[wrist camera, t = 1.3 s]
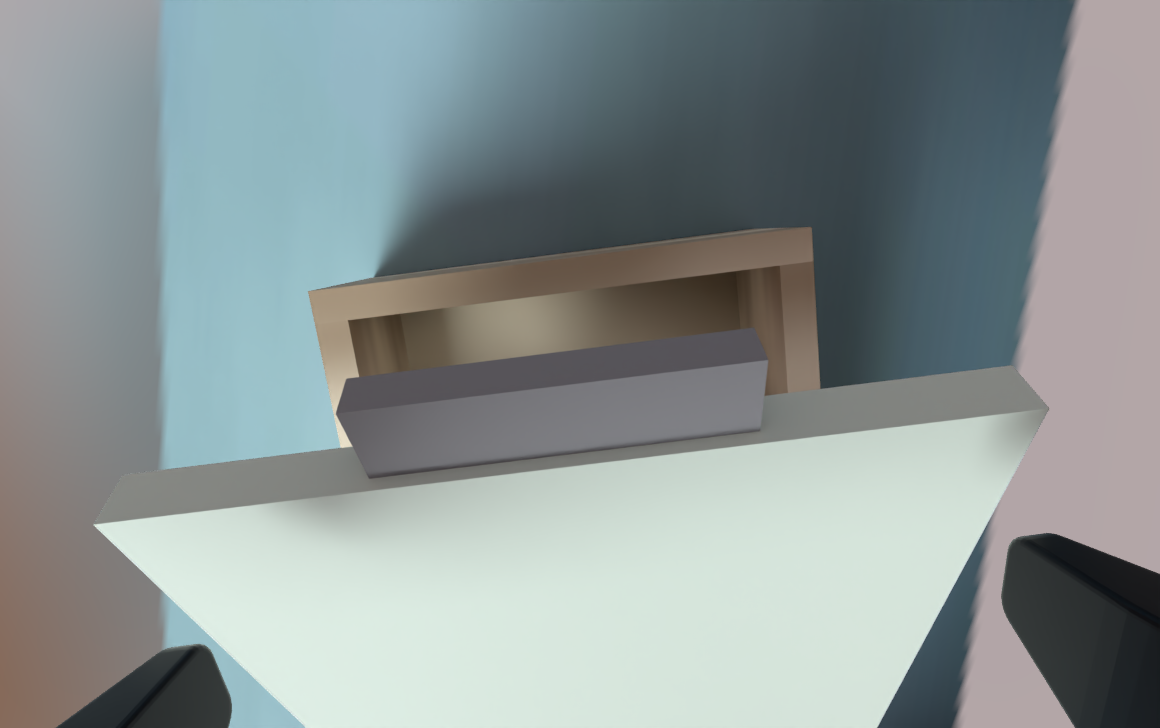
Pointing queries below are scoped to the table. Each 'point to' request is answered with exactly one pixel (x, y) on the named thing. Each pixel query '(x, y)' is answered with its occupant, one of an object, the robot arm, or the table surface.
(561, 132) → the table surface
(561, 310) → the box
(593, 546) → the lid
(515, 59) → the table surface
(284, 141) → the table surface
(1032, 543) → the robot arm
